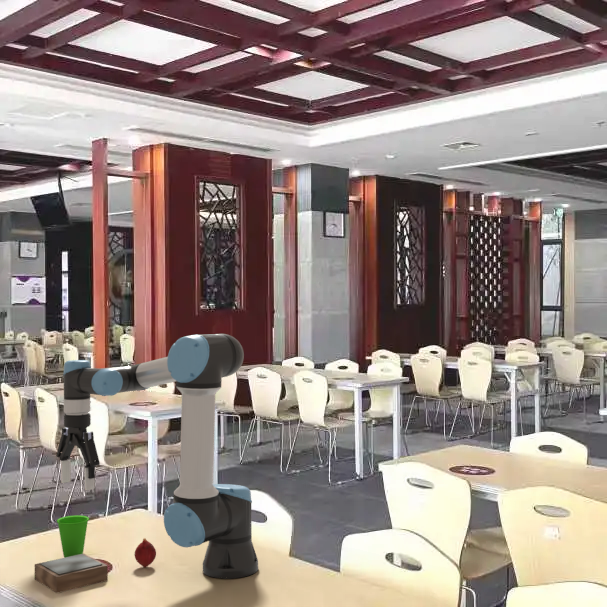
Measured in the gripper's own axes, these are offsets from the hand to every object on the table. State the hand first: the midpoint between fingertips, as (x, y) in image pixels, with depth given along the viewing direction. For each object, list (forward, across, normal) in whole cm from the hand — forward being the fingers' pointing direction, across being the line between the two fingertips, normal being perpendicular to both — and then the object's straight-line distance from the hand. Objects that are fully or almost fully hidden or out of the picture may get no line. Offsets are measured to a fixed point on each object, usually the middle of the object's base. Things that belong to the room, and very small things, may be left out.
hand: (77, 486), depth 240 cm
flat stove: (+20, -19, +13) cm, 30 cm away
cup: (+20, -2, +2) cm, 20 cm away
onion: (+20, -24, -7) cm, 32 cm away
